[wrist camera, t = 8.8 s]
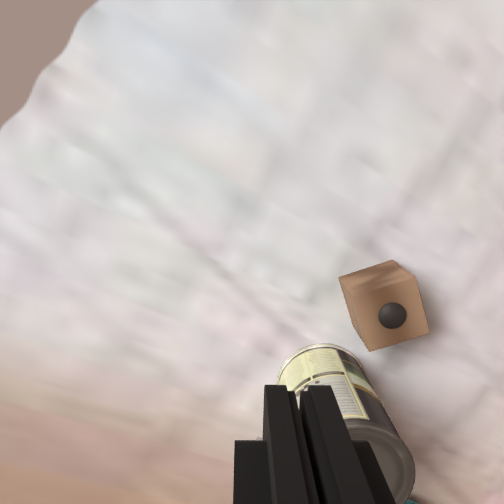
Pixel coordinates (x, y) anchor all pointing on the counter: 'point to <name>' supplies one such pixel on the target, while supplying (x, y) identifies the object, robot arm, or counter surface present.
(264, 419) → the robot arm
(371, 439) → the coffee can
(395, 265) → the walnut dotted block
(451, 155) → the counter surface
